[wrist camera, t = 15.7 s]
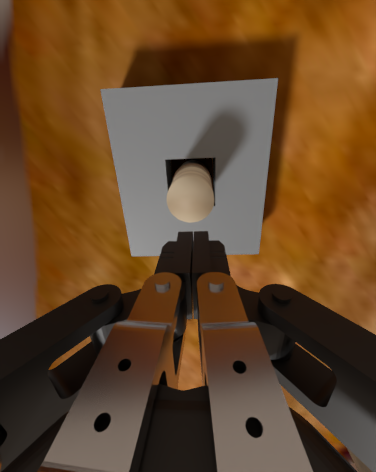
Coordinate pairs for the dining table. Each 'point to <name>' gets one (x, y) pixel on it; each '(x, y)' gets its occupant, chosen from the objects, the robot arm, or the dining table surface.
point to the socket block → (192, 146)
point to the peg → (191, 192)
